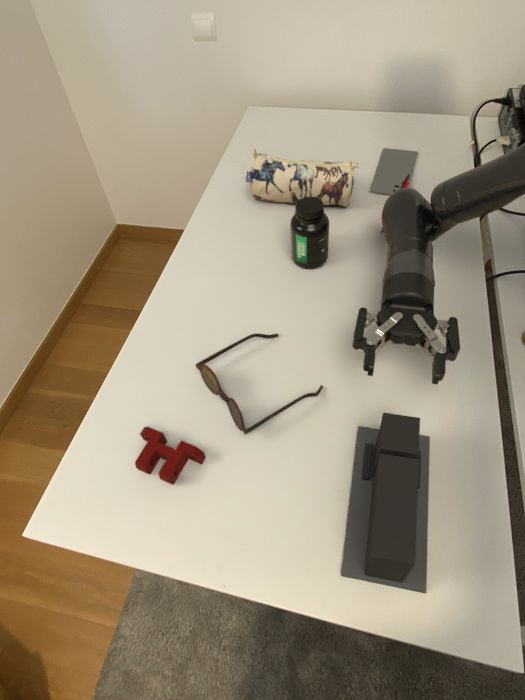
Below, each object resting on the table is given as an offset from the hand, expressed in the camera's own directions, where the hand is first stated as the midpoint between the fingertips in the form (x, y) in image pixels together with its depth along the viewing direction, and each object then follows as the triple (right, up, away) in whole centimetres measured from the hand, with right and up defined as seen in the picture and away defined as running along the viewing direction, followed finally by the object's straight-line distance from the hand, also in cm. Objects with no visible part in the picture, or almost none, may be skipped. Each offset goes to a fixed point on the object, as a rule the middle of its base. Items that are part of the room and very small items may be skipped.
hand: (402, 376), depth 67 cm
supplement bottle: (-10, +21, +28) cm, 36 cm away
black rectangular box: (-1, -12, +2) cm, 12 cm away
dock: (-2, -16, -1) cm, 17 cm away
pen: (+8, +33, +34) cm, 48 cm away
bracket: (-33, -13, +5) cm, 35 cm away
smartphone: (+10, +42, +41) cm, 59 cm away
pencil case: (-10, +35, +38) cm, 53 cm away
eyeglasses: (-19, -2, +12) cm, 22 cm away
